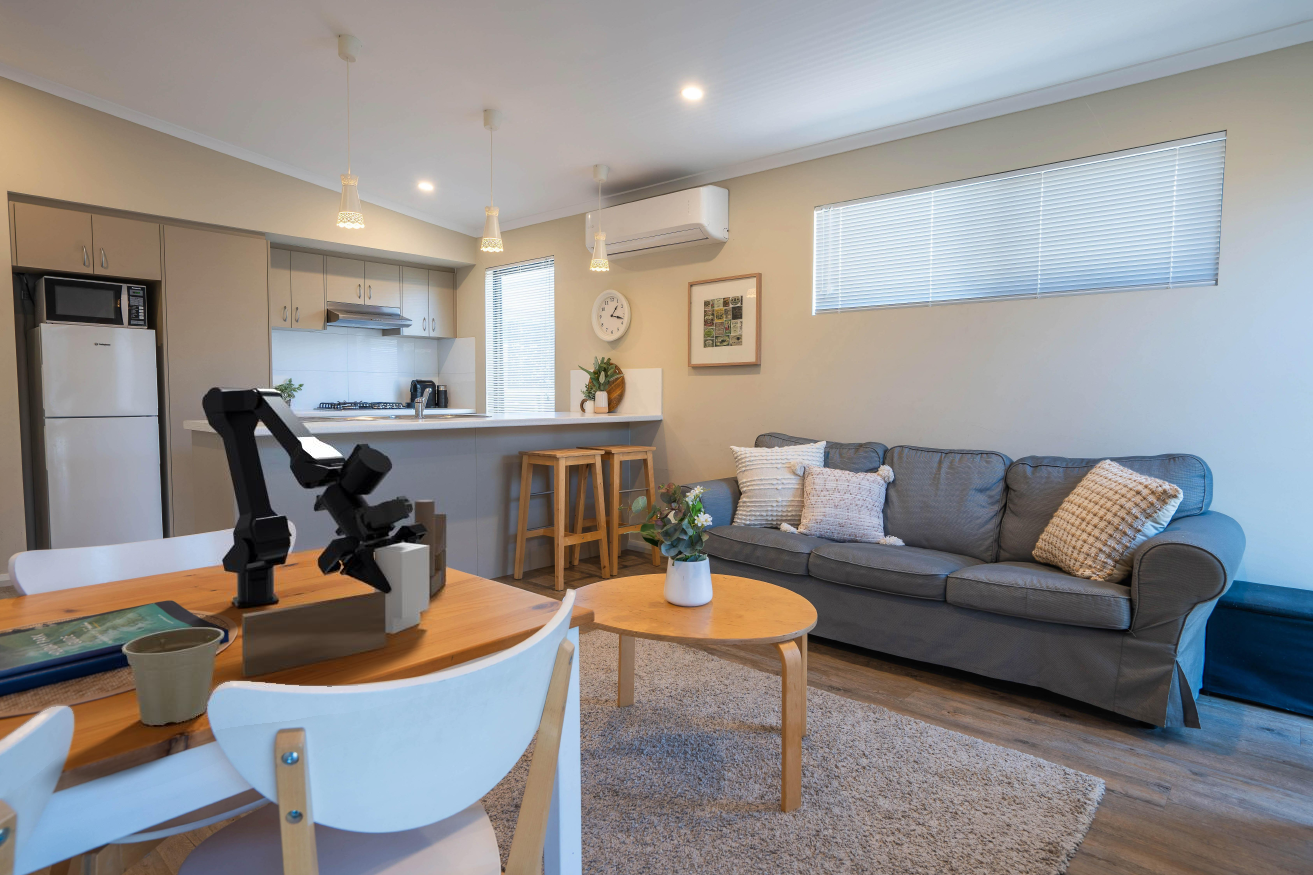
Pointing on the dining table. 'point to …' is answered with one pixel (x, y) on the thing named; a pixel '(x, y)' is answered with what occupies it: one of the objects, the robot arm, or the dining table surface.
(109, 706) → the dining table surface
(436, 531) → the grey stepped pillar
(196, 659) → the flower pot
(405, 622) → the white notched pillar
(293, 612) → the wall board
